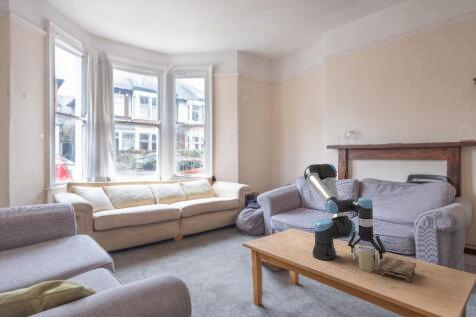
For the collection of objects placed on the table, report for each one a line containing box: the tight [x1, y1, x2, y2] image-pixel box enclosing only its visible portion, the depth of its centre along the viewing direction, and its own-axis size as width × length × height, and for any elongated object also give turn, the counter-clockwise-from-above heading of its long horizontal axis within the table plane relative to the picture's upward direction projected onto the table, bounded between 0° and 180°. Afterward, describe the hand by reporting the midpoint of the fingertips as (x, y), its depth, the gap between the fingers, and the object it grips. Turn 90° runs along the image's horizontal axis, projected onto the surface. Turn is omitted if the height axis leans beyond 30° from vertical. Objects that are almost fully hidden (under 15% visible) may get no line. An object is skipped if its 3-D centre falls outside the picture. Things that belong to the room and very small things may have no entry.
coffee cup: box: [357, 245, 376, 272], centre depth 154 cm, size 9×9×12 cm
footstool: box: [378, 256, 417, 284], centre depth 146 cm, size 15×15×6 cm
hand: (366, 261), depth 154 cm, fingers open, 13 cm apart
